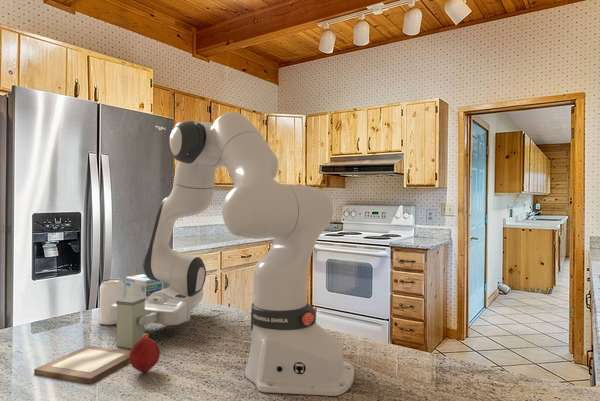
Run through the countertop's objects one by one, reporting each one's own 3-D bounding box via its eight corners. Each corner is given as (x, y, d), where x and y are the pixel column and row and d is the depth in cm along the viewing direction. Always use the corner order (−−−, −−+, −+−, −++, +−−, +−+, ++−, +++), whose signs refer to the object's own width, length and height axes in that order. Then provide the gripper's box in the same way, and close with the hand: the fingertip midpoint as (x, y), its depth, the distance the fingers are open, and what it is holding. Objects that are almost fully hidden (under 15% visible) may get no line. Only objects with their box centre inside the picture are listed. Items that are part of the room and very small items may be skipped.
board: (138, 356, 91) (138, 351, 91) (90, 383, 78) (90, 378, 78) (88, 349, 95) (88, 344, 95) (34, 374, 82) (34, 368, 82)
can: (114, 326, 113) (114, 283, 112) (94, 324, 114) (94, 282, 114) (128, 319, 119) (129, 278, 119) (109, 318, 120) (109, 277, 120)
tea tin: (145, 341, 101) (145, 297, 101) (132, 348, 96) (132, 302, 96) (129, 339, 102) (129, 296, 102) (115, 346, 98) (116, 300, 97)
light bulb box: (164, 310, 129) (164, 277, 128) (146, 316, 123) (146, 280, 123) (142, 305, 134) (143, 273, 134) (124, 310, 129) (124, 276, 129)
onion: (141, 381, 79) (141, 340, 79) (123, 374, 82) (123, 335, 82) (165, 371, 84) (165, 332, 84) (147, 364, 87) (147, 327, 87)
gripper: (131, 292, 114) (93, 304, 101) (195, 297, 109) (164, 311, 95) (131, 314, 114) (93, 329, 101) (195, 321, 109) (164, 337, 95)
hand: (128, 320), depth 98 cm, fingers closed on tea tin, 4 cm apart
